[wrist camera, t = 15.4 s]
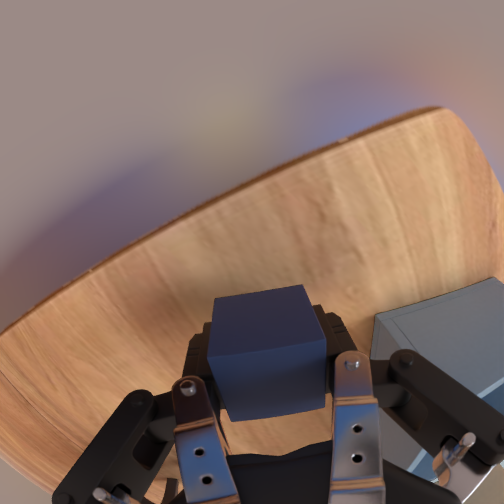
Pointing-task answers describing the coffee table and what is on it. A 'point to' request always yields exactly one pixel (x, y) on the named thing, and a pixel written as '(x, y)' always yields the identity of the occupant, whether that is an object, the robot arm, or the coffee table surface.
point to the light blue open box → (445, 355)
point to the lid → (489, 489)
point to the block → (267, 354)
